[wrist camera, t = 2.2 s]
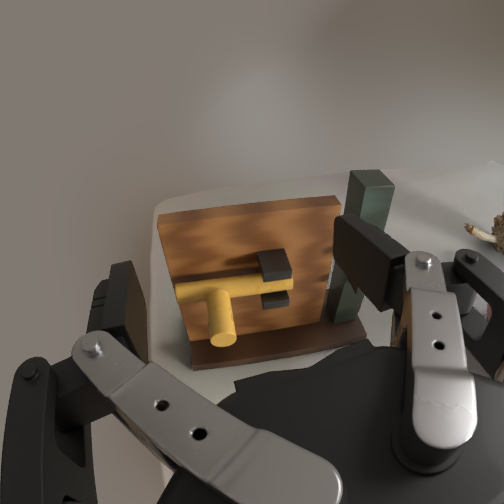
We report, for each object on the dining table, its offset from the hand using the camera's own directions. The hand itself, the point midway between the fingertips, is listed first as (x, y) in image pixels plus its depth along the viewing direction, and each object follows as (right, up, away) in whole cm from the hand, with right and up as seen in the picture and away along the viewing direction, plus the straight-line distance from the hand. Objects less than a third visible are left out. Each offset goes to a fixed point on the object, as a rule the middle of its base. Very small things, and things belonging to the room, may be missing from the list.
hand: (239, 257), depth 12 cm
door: (+3, -9, +25) cm, 27 cm away
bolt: (-1, -5, +14) cm, 15 cm away
